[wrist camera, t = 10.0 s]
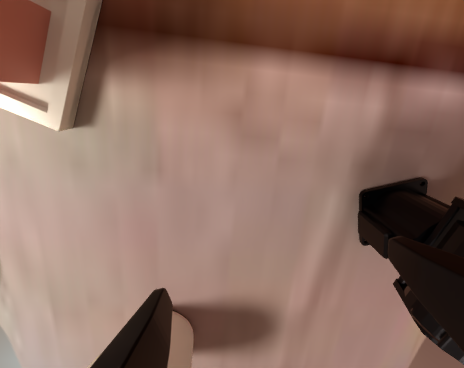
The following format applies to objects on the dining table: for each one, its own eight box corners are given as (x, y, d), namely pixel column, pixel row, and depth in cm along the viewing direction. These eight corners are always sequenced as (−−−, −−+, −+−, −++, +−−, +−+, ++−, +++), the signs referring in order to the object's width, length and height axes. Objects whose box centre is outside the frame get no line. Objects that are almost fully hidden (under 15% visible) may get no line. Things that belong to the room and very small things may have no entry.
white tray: (103, -5, 16) (89, -17, 14) (72, 128, 19) (58, 131, 17) (-65, -97, 14) (-104, -123, 12) (-69, 69, 17) (-100, 66, 15)
